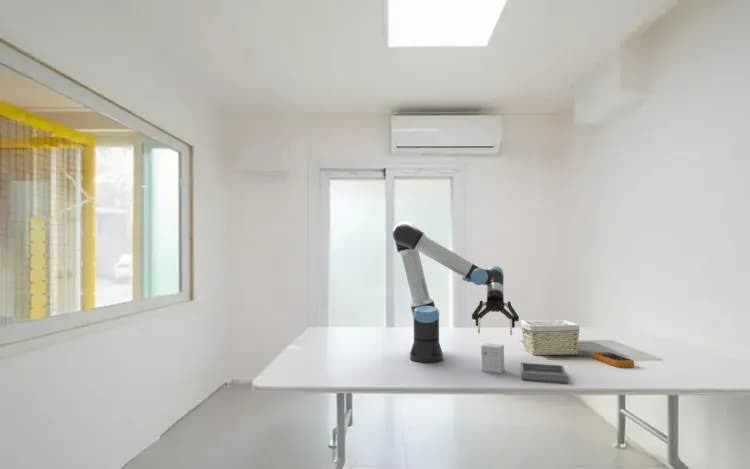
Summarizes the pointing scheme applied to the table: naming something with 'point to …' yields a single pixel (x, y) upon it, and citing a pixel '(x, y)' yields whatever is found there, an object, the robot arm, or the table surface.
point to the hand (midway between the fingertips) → (494, 332)
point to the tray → (543, 373)
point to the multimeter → (613, 359)
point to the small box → (492, 358)
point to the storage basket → (550, 337)
